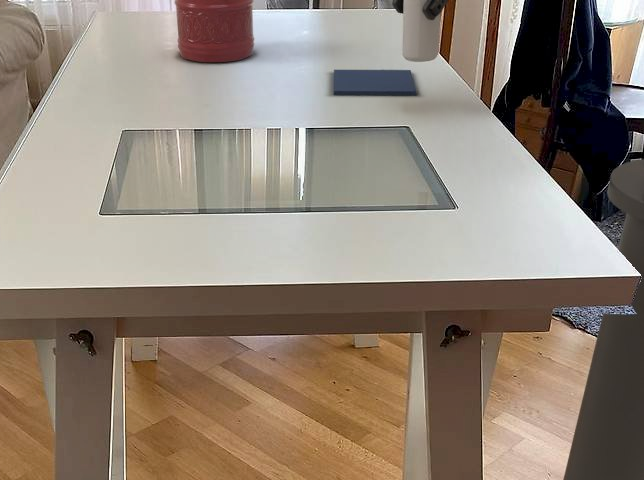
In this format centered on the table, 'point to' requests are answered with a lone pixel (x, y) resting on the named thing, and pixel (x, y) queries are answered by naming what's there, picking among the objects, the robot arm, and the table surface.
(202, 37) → the kitchen canister
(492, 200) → the table surface
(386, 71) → the drinks mat
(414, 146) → the table surface
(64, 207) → the table surface
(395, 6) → the robot arm
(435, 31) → the beverage can
